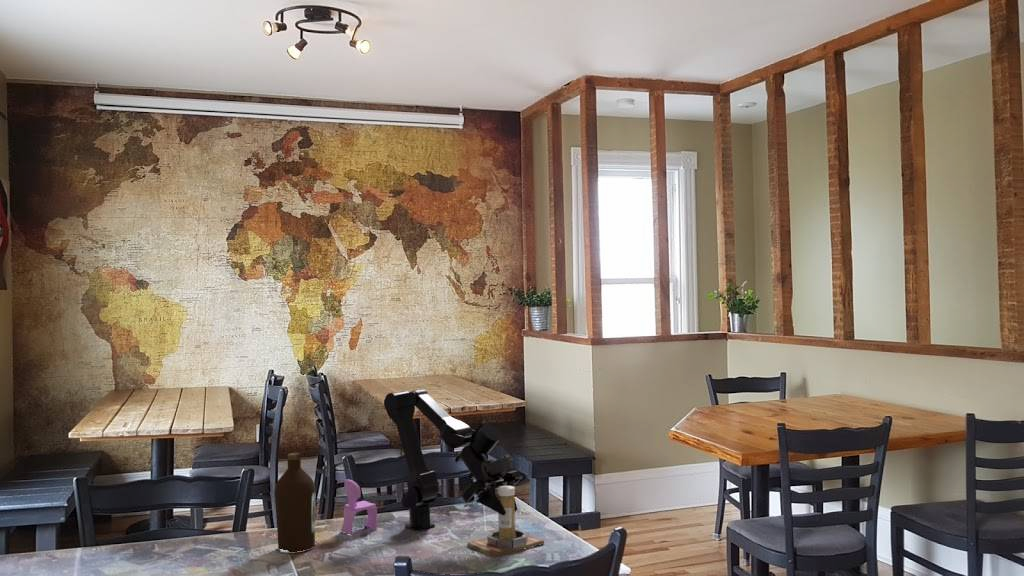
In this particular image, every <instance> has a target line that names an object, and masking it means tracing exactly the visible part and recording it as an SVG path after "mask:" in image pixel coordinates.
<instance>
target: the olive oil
mask: <svg viewBox="0 0 1024 576" xmlns="http://www.w3.org/2000/svg"><path fill="white" fill-rule="evenodd" d="M287 458H288V459H287V469H286V470H285V472H284V473H283V474H282V475H281V477H280V478H279V479H278V480H277V482H276V483H275V486H274V492H273V493H274V495H273V496H274V504H275V518H276V532H277V534H276V535H277V545H278V546H277V548H279V549H283V550H288V551H289V552H297V551H303V550H307V549H310V548H312V547H314V546H316V498H317V497H316V495H317V491H316V490H317V489H316V485H315V482H314V480H313V478H312V477H311V476H310V475H309V474H308V473H307V472H306V471H305V470H304V469H303V468H302V463H301V462H302V458H301V453H299V452H292V453H288V454H287ZM314 548H315V547H314ZM279 549H278V550H279Z"/></svg>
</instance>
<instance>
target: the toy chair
mask: <svg viewBox="0 0 1024 576" xmlns="http://www.w3.org/2000/svg"><path fill="white" fill-rule="evenodd" d="M343 486H344V489H345V491H346V497H347V502H348V503H346V504H344V508H343V522H342V525H341V529H340V531H342V532H345V533H347V534H350V535H352V536H353V524H354V519H355V516H356V514H357V513H359V512H362V511H364V510H366V512H367V519H366V521H365V524H364V527H365V526H367V527H366V528H368V527H370V528H372V529H371V530H373V529H375V530H374V531H378V519H377V518H378V508H377V507H376V506H377V504H376V503H371V502H369V501H367V500H361V501H358V499H360V498H361V495H362V494H361V487H360V485H358V483H357V482H355V481H354V480H352V479H349V478H347V479H345V481H344V485H343ZM370 528H369V529H370Z"/></svg>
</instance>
